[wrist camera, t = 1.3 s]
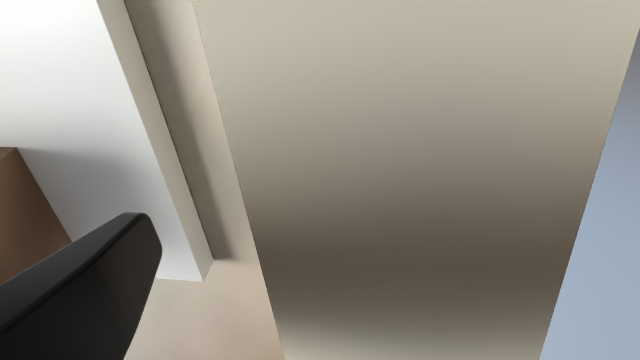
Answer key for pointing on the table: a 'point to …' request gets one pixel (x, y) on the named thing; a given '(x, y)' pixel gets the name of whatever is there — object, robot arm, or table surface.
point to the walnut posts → (24, 218)
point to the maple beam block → (415, 162)
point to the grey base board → (94, 125)
